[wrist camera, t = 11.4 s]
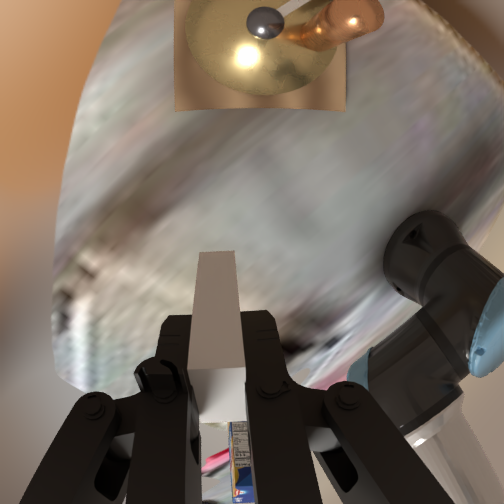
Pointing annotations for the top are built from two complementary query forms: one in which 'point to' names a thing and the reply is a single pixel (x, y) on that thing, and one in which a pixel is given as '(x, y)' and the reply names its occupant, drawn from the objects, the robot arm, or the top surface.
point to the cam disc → (274, 39)
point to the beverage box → (240, 463)
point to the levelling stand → (221, 97)
